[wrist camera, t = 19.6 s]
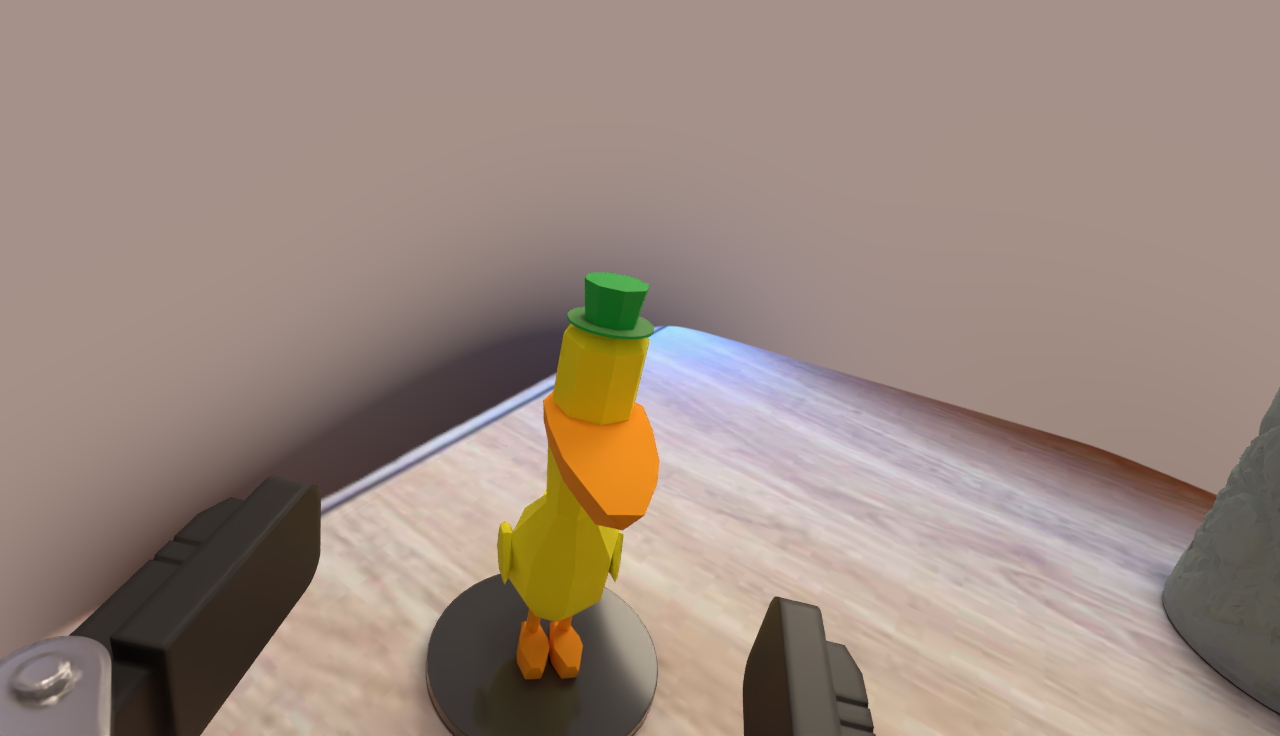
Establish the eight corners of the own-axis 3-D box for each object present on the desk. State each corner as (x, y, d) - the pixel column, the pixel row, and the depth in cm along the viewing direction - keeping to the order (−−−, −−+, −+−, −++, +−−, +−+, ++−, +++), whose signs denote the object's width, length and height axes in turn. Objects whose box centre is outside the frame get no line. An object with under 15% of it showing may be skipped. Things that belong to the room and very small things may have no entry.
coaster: (438, 798, 18) (440, 788, 17) (416, 587, 23) (417, 579, 23) (690, 743, 20) (693, 735, 20) (616, 567, 26) (618, 559, 26)
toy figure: (626, 757, 19) (748, 373, 14) (492, 770, 18) (567, 359, 13) (586, 573, 25) (661, 251, 19) (482, 575, 24) (531, 234, 18)
